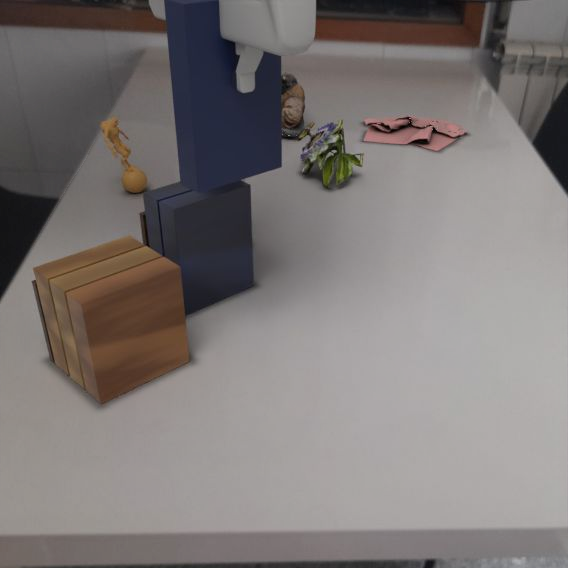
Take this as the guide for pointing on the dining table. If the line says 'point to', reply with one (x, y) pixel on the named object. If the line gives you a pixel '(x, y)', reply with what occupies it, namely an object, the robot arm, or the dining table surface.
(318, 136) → the passion flower
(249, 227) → the navy books
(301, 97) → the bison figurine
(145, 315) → the tan books
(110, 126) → the figurine
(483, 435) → the dining table surface
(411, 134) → the cloth
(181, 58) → the navy book
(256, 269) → the dining table surface
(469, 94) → the dining table surface
